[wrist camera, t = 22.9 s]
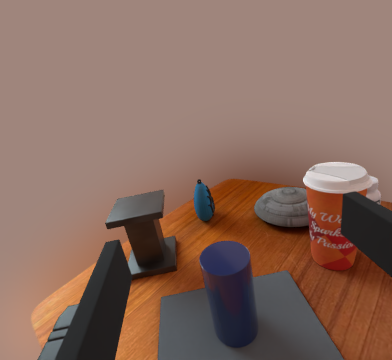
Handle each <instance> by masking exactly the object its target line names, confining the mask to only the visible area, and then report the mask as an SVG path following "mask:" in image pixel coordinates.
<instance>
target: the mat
mask: <svg viewBox="0 0 392 360" xmlns="http://www.w3.org/2000/svg"><path fill="white" fill-rule="evenodd" d="M253 283H254V291H255V300H256V308H257V316H258V325H259V329H258V334H257V336H256V338H255V339H254V340H253V342H251V343H250V344H249V345H247V346H244V347H240V348H234V347H230V346H227V345H225V344H224V343H222V342H221V341H220V340H219V339H218V337H217V336H216V333H215V330H214V325H213V321H212V316H211V312H210V307H209V303H208V298H207V294H206V289H205V288H202V289H197V290H193V291H188V292H183V293H179V294H174V295H169V296H165V297H161V309H160V327H159V345H158V360H344V359H343V357H342V356H341V354H340V352H339V351H338V349H337V348H336V346H335V345H334V343H333V341H332V340H331V338H330V337H329V335H328V334H327V332H326V330H325V329H324V327H323V326H322V324H321V323H320V321H319V319H318V318H317V316H316V315H315V313H314V312H313V310H312V308H311V307H310V305H309V304H308V302H307V301H306V299H305V297H304V296H303V294H302V293H301V291H300V290H299V288H298V286H297V285H296V283H295V282H294V280H293V279H292V277H291V276H290V274H289V272H288V271H287V270H286V271H281V272H277V273H272V274H267V275H263V276H258V277H253Z"/></svg>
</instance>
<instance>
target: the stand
mask: <svg viewBox="0 0 392 360" xmlns="http://www.w3.org/2000/svg"><path fill="white" fill-rule="evenodd" d="M164 196H165V195H164V191H163V190H159V191H154V192H149V193H145V194H140V195H135V196H130V197H125V198H120V199H117V201H116V203H115V205H114V207H113V209H112V211H111V213H110V215H109V217H108V219H107V221H106V223H105V224H106V227H107V229H111V228H116V227H121V226H124V227H125V230H126V233H127V235H128V238H129V242H130V244H131V247H132V250H131V254H130V258H129V262H128V266H129V269H130V271H131V274H132V280H134V279H138V278H143V277H148V276H153V275H157V274H162V273H167V272H171V271H176V270H177V255H176V238H175V236H172V237H167V238H164V237H163V233H162V230H161V226H160V222H159V219H160V218H163V209H164Z"/></svg>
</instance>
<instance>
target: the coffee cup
mask: <svg viewBox="0 0 392 360" xmlns="http://www.w3.org/2000/svg"><path fill="white" fill-rule="evenodd" d="M303 182H304V184H305V185H306V192H307V205H308V218H309V231H310V243H311V252H312V257H313V259H314V261H315V262H316V263H317V264H319V265H320V266H322V267H324V268H327V269H330V270H346V269H349V268H350V267H352V266H353V264H354V261H355V257H356V252H357V247H356V246H355V245H354V244H352V243H351V242H350V241H349V240H348V239H347V238H345V237H344V236H343V235H342V234H341V216H342V199H343V194H344V193H349V192H354V191H356V192H358V193H360V194H362V195H363V196H365V197H366V194H367V188H369V187H371V186H372V184H373V180H371V179H370V175H369V174H368V173H367V171H366V169H364V168H363V167H361V166H359V165H356V164H352V163H343V162H328V163H322V164H317V165H314V166H313V167H312V168H310V169H309V171H307V173H306V175H305V177H304V179H303Z"/></svg>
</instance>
